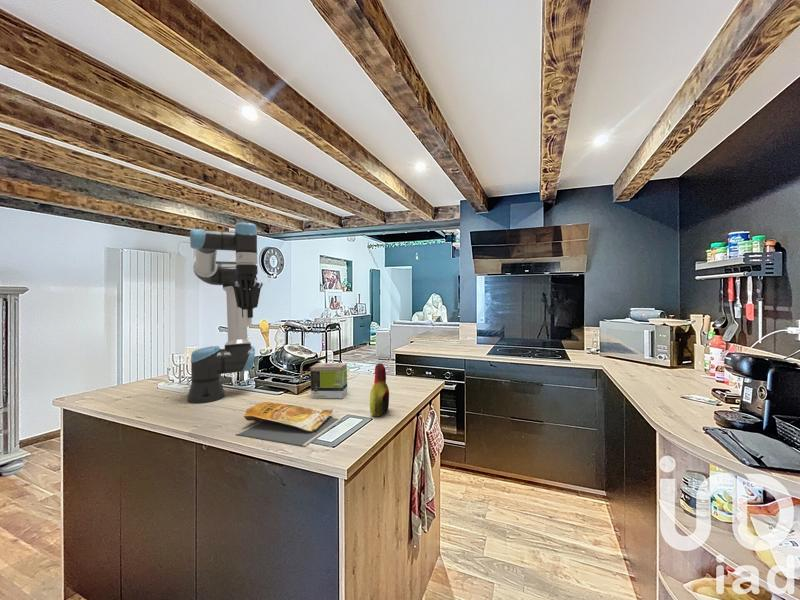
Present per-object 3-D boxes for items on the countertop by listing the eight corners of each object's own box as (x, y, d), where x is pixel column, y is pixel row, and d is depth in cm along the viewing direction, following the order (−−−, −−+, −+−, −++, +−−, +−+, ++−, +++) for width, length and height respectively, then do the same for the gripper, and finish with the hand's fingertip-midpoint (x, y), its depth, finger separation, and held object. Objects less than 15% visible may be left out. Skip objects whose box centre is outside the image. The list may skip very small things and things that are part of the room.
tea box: (347, 392, 169) (347, 362, 169) (342, 399, 159) (341, 367, 159) (317, 392, 171) (317, 362, 170) (310, 398, 161) (309, 366, 160)
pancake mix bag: (269, 414, 143) (334, 417, 138) (240, 429, 124) (314, 433, 119) (269, 398, 143) (334, 400, 138) (240, 410, 124) (315, 413, 120)
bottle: (380, 407, 148) (380, 360, 147) (394, 409, 145) (393, 361, 145) (366, 416, 137) (366, 366, 136) (380, 419, 134) (380, 367, 134)
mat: (235, 435, 120) (235, 433, 120) (281, 411, 143) (281, 410, 143) (304, 446, 111) (304, 445, 111) (341, 420, 133) (341, 419, 133)
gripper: (225, 264, 131) (226, 326, 132) (253, 263, 127) (254, 328, 127) (240, 265, 138) (241, 324, 139) (267, 264, 134) (268, 326, 134)
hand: (247, 326), depth 133 cm, fingers closed
